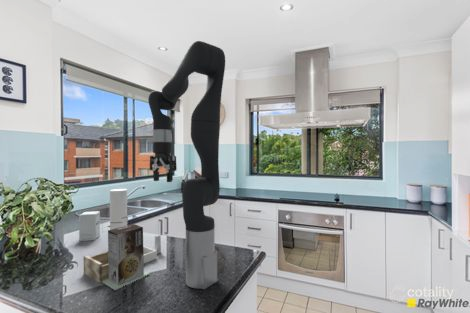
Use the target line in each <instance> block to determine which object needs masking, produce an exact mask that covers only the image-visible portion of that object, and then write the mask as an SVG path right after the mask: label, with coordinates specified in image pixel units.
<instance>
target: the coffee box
mask: <svg viewBox="0 0 470 313" xmlns="http://www.w3.org/2000/svg"><path fill="white" fill-rule="evenodd" d="M107 246H108V247H107V251H108V264H109V280H110V281H112V282H113V283H115V284H117V285H120V284H123V283H125V282H127V281H129V280H132V279H134V278H136V277H138V276H140V275H143V274H144V271H145V268H144V267H145V265H144V264H145V263H144V256H143V255H144V254H143V246H144V227H143V226H140V225H137V224H135V223H132V224H129V225H128V224H127V226H123V227H119V228H116V229H112V230H110V229H109V230H107Z"/></svg>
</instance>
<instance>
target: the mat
mask: <svg viewBox="0 0 470 313" xmlns="http://www.w3.org/2000/svg"><path fill="white" fill-rule="evenodd" d="M147 275H148V276H149V275H151V273H150V272H149V271H146V270H144V274H143V275H140V276H138V277H136V278H134V279H132V280H129V281H127V282H125V283H123V284H120V285H117V284H115V283H113V282H112V281H110V280H109V278H108V279H105V280H103V282H102V283H103V284H104V283H105V284H104V285H106V286H107V287H109V288H110V289H113V290H114V291H117V290H119V289H121V288H124V287H125V285H126V286H128V285H130V284H133V283H135V282H137V281H138V279H139V280H141V278H142V279H144V278H146V277H148V276H147ZM145 276H146V277H145ZM143 277H144V278H143ZM136 280H137V281H136ZM134 281H135V282H134ZM132 282H133V283H132ZM123 286H124V287H123Z"/></svg>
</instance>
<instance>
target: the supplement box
mask: <svg viewBox="0 0 470 313" xmlns="http://www.w3.org/2000/svg"><path fill="white" fill-rule="evenodd" d="M78 219H79V221H78V227H79V228H78V231H79V232H78V236H79V237H78V241H79V242H87V241H88V242H89V241H96V240H97V239H98V237H99V236H101V233H100V232H101V228H100V227H101V212H100V210H99V211H98V210H96V211H95V210H94V211H93V210H92V211H84V212H83V213H81V214H79V215H78Z"/></svg>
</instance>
